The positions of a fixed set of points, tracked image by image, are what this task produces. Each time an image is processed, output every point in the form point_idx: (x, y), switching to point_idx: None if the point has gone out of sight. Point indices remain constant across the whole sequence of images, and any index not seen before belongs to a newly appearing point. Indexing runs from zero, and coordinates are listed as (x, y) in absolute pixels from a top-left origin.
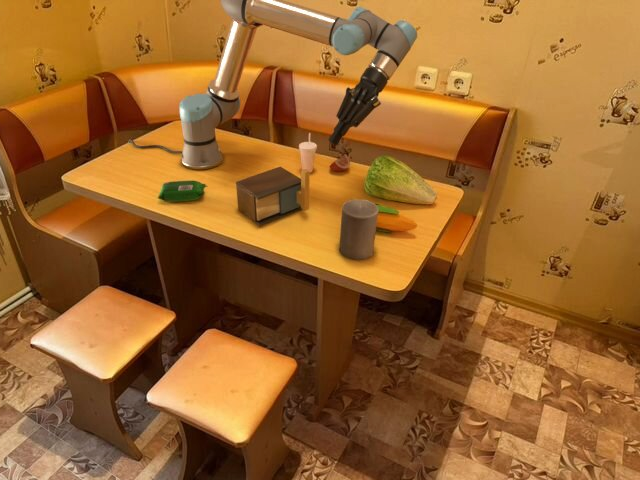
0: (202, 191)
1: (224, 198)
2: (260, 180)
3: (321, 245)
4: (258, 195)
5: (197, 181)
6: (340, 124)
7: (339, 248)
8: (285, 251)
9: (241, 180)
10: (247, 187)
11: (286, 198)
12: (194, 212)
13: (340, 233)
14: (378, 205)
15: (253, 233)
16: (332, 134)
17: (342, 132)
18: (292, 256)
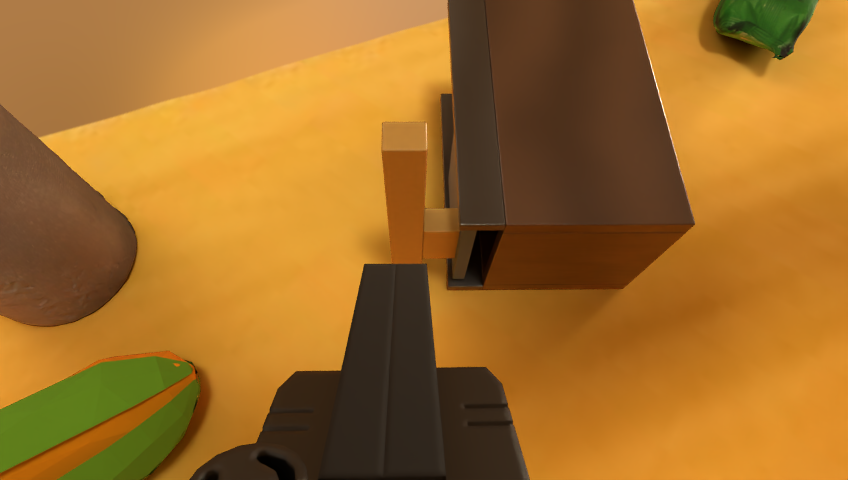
0: (729, 19)
1: (690, 103)
2: (588, 71)
3: (194, 185)
4: (463, 3)
5: (801, 17)
6: (388, 423)
7: (123, 216)
8: (262, 84)
9: (632, 17)
10: (556, 5)
11: (454, 162)
12: (641, 3)
13: (77, 174)
14: (7, 463)
15: (417, 66)
16: (418, 301)
17: (283, 388)
18: (225, 85)
